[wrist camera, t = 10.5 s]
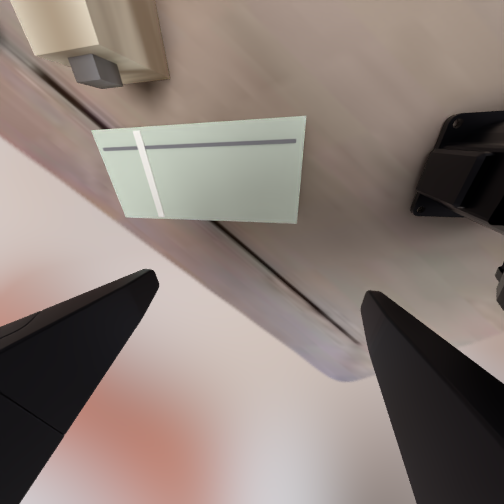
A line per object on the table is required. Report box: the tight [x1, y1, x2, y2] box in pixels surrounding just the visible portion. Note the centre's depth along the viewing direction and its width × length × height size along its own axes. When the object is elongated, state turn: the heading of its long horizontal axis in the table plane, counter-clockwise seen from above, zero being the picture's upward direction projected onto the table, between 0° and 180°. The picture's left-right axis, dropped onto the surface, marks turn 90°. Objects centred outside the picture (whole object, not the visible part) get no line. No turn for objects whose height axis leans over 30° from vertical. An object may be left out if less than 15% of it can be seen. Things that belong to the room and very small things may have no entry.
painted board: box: [91, 116, 306, 224], centre depth 16 cm, size 16×7×3 cm, turn 92°
